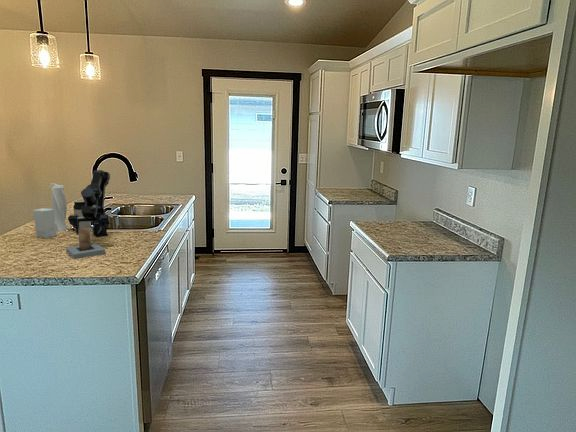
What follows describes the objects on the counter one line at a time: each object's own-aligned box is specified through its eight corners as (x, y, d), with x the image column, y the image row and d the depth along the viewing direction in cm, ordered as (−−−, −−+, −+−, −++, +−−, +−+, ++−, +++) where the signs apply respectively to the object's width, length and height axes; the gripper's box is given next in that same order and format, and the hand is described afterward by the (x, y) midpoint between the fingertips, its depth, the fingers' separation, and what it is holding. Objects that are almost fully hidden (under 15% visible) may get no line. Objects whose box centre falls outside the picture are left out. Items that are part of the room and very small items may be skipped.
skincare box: (57, 236, 226) (54, 208, 223) (46, 239, 220) (44, 211, 217) (45, 234, 229) (43, 207, 226) (35, 237, 223) (32, 209, 220)
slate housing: (96, 247, 208) (96, 243, 208) (105, 253, 198) (104, 249, 198) (66, 251, 199) (66, 247, 199) (73, 258, 189) (73, 254, 189)
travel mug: (86, 227, 247) (84, 198, 243) (92, 230, 242) (90, 200, 238) (72, 230, 241) (70, 200, 237) (79, 232, 236) (76, 202, 232)
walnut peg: (86, 250, 202) (84, 227, 200) (93, 252, 200) (92, 228, 198) (77, 253, 197) (75, 229, 195) (85, 254, 196) (83, 230, 193)
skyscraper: (57, 231, 235) (53, 184, 230) (50, 229, 239) (46, 182, 233) (70, 229, 242) (67, 182, 236) (63, 227, 246) (60, 181, 240)
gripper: (67, 199, 202) (62, 226, 194) (107, 199, 207) (104, 225, 199) (72, 211, 211) (68, 237, 203) (111, 210, 216) (108, 236, 208)
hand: (87, 234), depth 203 cm, fingers open, 9 cm apart
